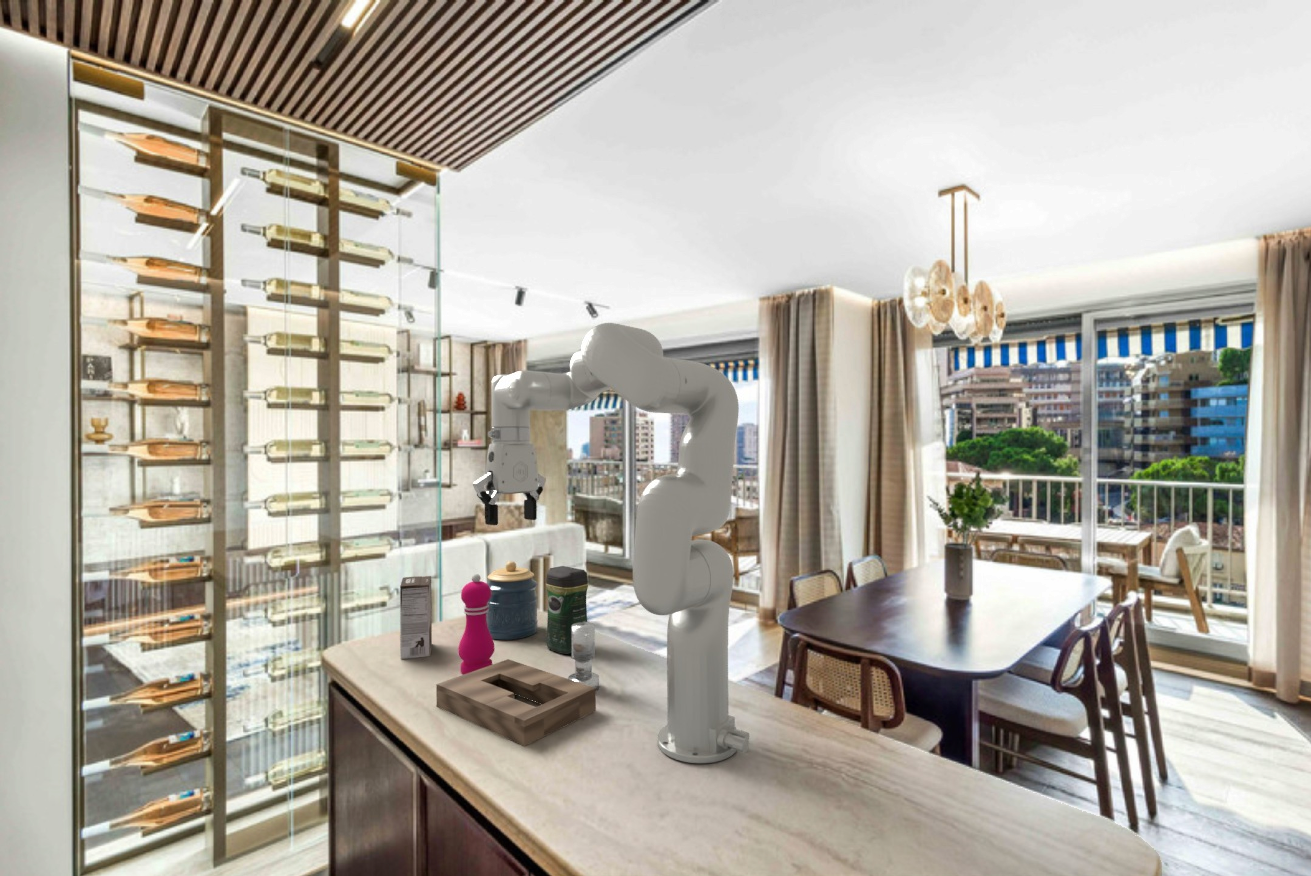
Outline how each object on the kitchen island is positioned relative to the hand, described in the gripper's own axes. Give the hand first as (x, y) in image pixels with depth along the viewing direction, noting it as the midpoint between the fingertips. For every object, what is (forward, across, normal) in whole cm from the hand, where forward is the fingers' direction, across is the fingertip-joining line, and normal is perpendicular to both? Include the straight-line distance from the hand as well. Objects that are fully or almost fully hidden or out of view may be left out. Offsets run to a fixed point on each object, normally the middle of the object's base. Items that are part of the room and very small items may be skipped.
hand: (511, 521), depth 126 cm
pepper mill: (+31, -2, +9) cm, 33 cm away
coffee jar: (+31, +19, +4) cm, 37 cm away
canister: (+32, +19, +24) cm, 44 cm away
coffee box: (+31, -3, +30) cm, 44 cm away
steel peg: (+31, +5, -15) cm, 35 cm away
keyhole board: (+31, -9, -12) cm, 35 cm away
